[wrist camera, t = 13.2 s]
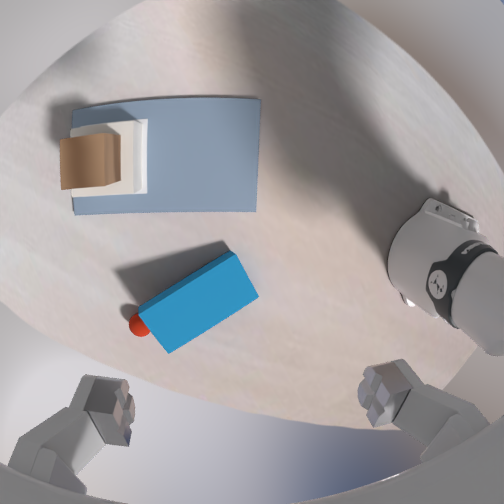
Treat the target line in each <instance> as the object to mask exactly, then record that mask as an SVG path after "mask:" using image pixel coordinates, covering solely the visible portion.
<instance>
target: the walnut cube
mask: <svg viewBox="0 0 504 504" xmlns="http://www.w3.org/2000/svg"><path fill="white" fill-rule="evenodd" d="M60 175H61V190H65V189H76V188H88V187H101V186H107V185H110V184H112V183H115V182H118V181H121V135H116V134H108V133H100V134H92V135H85V136H78V137H72V138H66V139H60Z"/></svg>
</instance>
